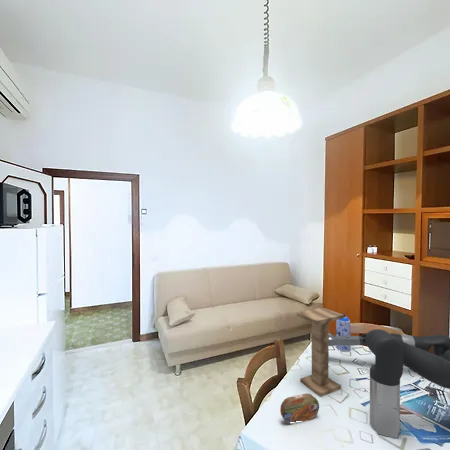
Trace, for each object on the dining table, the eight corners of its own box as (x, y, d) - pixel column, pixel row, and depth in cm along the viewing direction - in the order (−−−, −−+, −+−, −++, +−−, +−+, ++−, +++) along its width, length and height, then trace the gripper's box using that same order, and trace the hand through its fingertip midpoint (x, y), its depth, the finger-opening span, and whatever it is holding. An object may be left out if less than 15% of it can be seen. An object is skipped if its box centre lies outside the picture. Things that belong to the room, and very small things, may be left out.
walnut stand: (322, 374, 129) (322, 307, 129) (343, 387, 118) (343, 315, 118) (296, 383, 122) (296, 312, 122) (316, 398, 111) (316, 321, 111)
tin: (283, 426, 96) (283, 403, 96) (279, 420, 99) (279, 397, 99) (319, 418, 100) (319, 395, 100) (314, 412, 103) (314, 390, 103)
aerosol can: (332, 346, 158) (333, 312, 158) (345, 345, 159) (345, 311, 159) (340, 352, 150) (340, 316, 150) (353, 351, 152) (353, 315, 152)
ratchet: (374, 341, 137) (372, 331, 137) (376, 346, 131) (375, 336, 131) (324, 340, 144) (322, 331, 144) (324, 345, 138) (323, 336, 139)
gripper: (406, 357, 123) (364, 352, 129) (397, 344, 137) (360, 339, 142) (406, 340, 123) (364, 336, 129) (397, 329, 137) (359, 325, 142)
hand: (362, 338), depth 136 cm, fingers closed on ratchet, 4 cm apart
